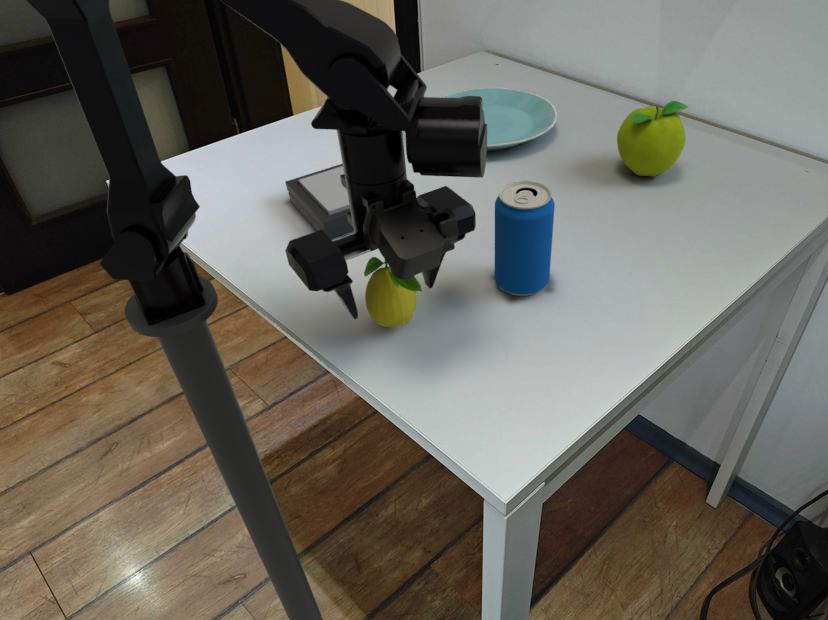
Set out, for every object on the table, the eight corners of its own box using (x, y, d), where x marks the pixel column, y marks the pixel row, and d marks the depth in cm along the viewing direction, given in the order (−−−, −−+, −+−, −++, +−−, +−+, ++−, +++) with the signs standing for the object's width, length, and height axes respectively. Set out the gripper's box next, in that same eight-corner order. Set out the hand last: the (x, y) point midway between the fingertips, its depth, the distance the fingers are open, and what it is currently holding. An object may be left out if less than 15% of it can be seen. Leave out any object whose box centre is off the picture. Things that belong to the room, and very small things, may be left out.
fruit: (691, 179, 96) (706, 112, 89) (634, 192, 94) (645, 124, 87) (656, 152, 102) (668, 87, 96) (602, 163, 100) (610, 97, 93)
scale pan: (330, 221, 87) (328, 211, 86) (300, 189, 93) (298, 179, 92) (397, 198, 91) (396, 187, 90) (364, 169, 97) (362, 159, 96)
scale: (327, 242, 87) (323, 222, 85) (289, 200, 95) (284, 181, 93) (413, 211, 92) (411, 191, 90) (370, 173, 100) (367, 155, 98)
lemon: (426, 340, 73) (420, 265, 66) (373, 348, 72) (360, 274, 65) (417, 302, 77) (409, 229, 71) (366, 310, 77) (354, 236, 70)
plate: (397, 149, 105) (395, 132, 103) (453, 95, 120) (452, 79, 118) (530, 172, 99) (531, 155, 97) (572, 112, 113) (573, 95, 112)
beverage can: (554, 272, 81) (561, 183, 73) (541, 304, 76) (547, 213, 68) (503, 263, 83) (504, 175, 74) (487, 294, 78) (486, 204, 70)
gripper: (317, 244, 53) (347, 380, 64) (508, 175, 60) (505, 308, 71) (267, 186, 60) (301, 318, 71) (443, 131, 67) (450, 258, 78)
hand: (392, 301), depth 72 cm, fingers open, 9 cm apart
